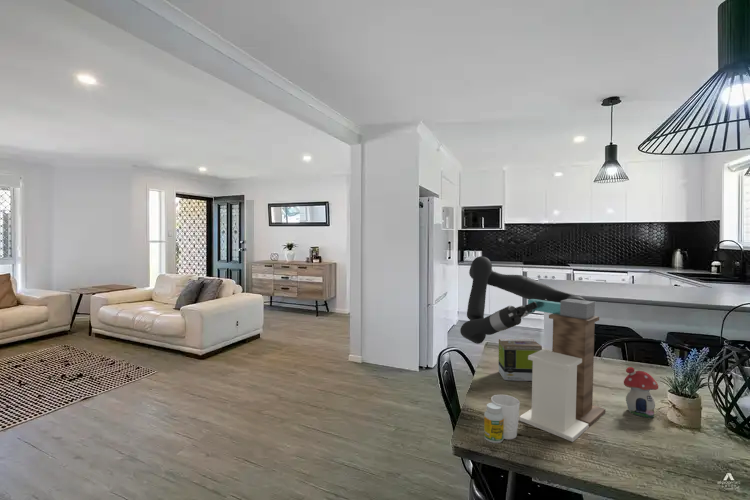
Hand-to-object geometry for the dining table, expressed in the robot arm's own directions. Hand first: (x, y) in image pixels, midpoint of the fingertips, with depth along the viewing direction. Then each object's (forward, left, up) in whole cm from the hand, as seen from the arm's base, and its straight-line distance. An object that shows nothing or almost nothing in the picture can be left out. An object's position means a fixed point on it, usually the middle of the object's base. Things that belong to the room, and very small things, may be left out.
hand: (541, 302), depth 129 cm
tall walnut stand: (-8, +8, -35) cm, 36 cm away
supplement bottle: (+23, +27, -35) cm, 50 cm away
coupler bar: (-4, +4, -3) cm, 6 cm away
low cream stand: (+2, +17, -35) cm, 39 cm away
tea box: (0, -21, -35) cm, 41 cm away
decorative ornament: (-30, +8, -35) cm, 46 cm away
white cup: (+19, +24, -35) cm, 47 cm away
